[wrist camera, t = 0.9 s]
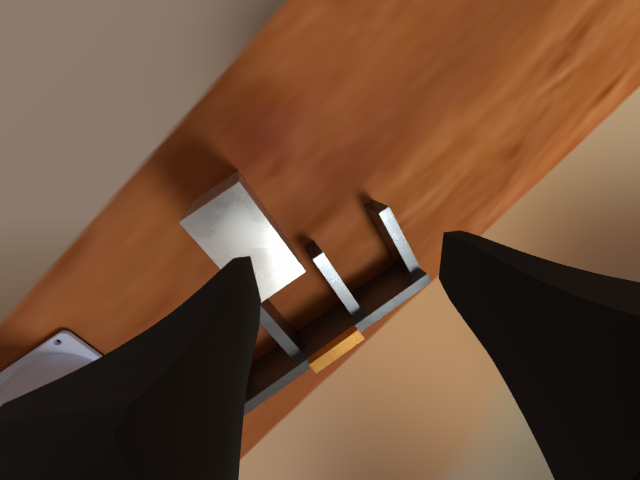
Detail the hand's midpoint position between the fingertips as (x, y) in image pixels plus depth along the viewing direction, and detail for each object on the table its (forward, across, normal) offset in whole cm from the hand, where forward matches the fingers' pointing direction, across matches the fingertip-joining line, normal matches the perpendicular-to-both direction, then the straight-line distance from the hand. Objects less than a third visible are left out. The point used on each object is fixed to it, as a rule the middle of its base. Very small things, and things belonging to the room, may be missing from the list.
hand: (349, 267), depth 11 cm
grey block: (+13, +7, +3) cm, 15 cm away
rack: (+13, +3, +11) cm, 17 cm away
